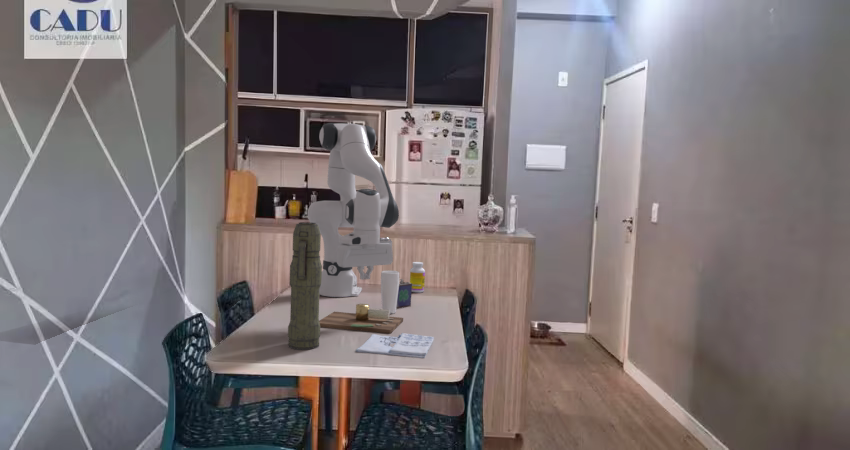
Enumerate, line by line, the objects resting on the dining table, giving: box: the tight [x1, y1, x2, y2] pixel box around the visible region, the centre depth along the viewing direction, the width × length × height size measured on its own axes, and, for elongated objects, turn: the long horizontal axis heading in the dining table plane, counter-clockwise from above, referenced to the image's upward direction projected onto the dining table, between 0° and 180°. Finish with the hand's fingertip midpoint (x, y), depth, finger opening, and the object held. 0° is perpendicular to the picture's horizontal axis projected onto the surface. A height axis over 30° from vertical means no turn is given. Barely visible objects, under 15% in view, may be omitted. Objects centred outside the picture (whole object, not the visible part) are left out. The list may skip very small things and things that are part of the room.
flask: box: [396, 278, 413, 309], centre depth 216 cm, size 9×3×11 cm, turn 134°
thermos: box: [287, 221, 323, 351], centre depth 159 cm, size 9×12×35 cm
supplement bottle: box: [409, 261, 426, 294], centre depth 248 cm, size 7×7×13 cm
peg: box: [355, 303, 391, 321], centre depth 188 cm, size 11×4×5 cm, turn 79°
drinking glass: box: [380, 270, 401, 315], centre depth 205 cm, size 7×7×15 cm
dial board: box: [319, 311, 404, 334], centre depth 187 cm, size 18×25×2 cm
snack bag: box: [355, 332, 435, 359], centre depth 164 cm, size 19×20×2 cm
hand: (365, 279), depth 188 cm, fingers closed
